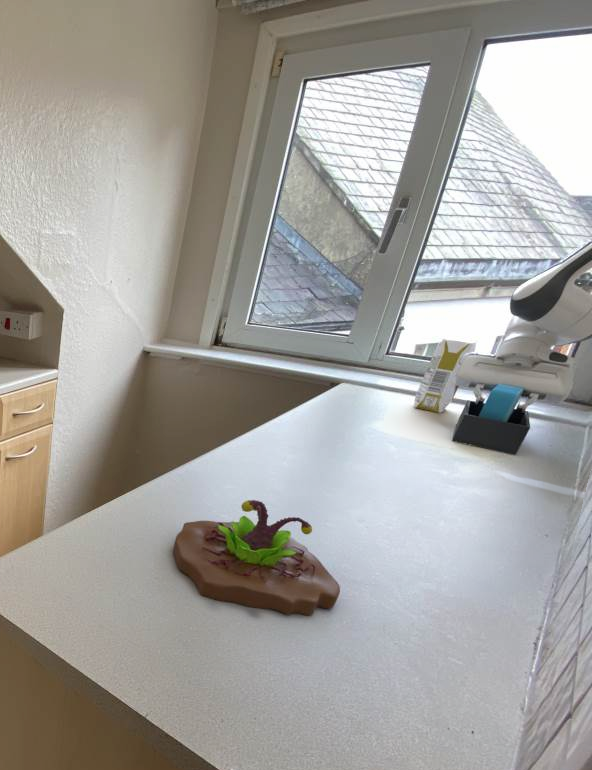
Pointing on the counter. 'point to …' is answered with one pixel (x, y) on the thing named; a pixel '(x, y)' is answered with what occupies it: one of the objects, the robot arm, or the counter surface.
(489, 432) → the box
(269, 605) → the plant
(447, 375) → the juice carton
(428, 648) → the counter surface
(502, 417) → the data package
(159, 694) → the counter surface
